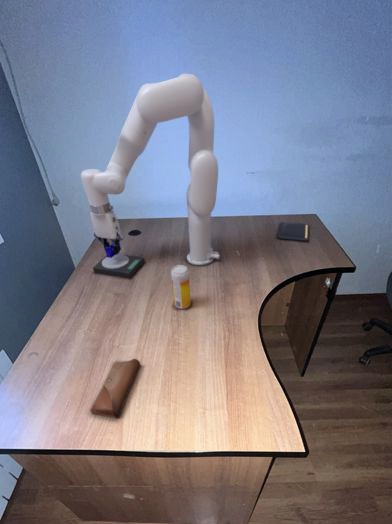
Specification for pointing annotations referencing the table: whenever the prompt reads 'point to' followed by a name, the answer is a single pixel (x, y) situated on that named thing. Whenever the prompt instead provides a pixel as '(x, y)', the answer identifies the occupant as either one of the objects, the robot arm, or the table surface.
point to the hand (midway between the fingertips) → (112, 252)
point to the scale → (119, 265)
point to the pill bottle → (180, 286)
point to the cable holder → (111, 250)
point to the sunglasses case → (115, 389)
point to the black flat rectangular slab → (293, 231)
